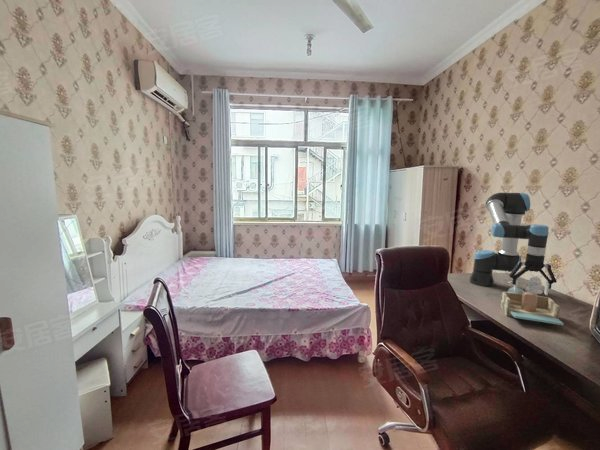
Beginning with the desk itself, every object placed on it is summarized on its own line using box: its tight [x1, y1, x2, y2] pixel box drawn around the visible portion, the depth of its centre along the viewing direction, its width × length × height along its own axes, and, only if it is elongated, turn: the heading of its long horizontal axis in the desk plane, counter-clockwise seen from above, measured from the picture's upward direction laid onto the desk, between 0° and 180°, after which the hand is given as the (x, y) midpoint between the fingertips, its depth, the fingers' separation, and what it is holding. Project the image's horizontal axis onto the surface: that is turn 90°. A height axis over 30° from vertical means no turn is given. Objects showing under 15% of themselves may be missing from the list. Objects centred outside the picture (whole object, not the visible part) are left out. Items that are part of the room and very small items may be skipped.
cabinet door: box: [510, 311, 565, 326], centre depth 149 cm, size 1×20×9 cm
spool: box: [507, 286, 525, 294], centre depth 178 cm, size 14×10×10 cm
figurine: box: [525, 275, 544, 295], centre depth 195 cm, size 12×9×10 cm
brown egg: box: [521, 291, 539, 312], centre depth 159 cm, size 6×6×9 cm
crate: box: [499, 291, 561, 320], centre depth 160 cm, size 14×22×9 cm, turn 67°
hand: (530, 292), depth 159 cm, fingers open, 13 cm apart
